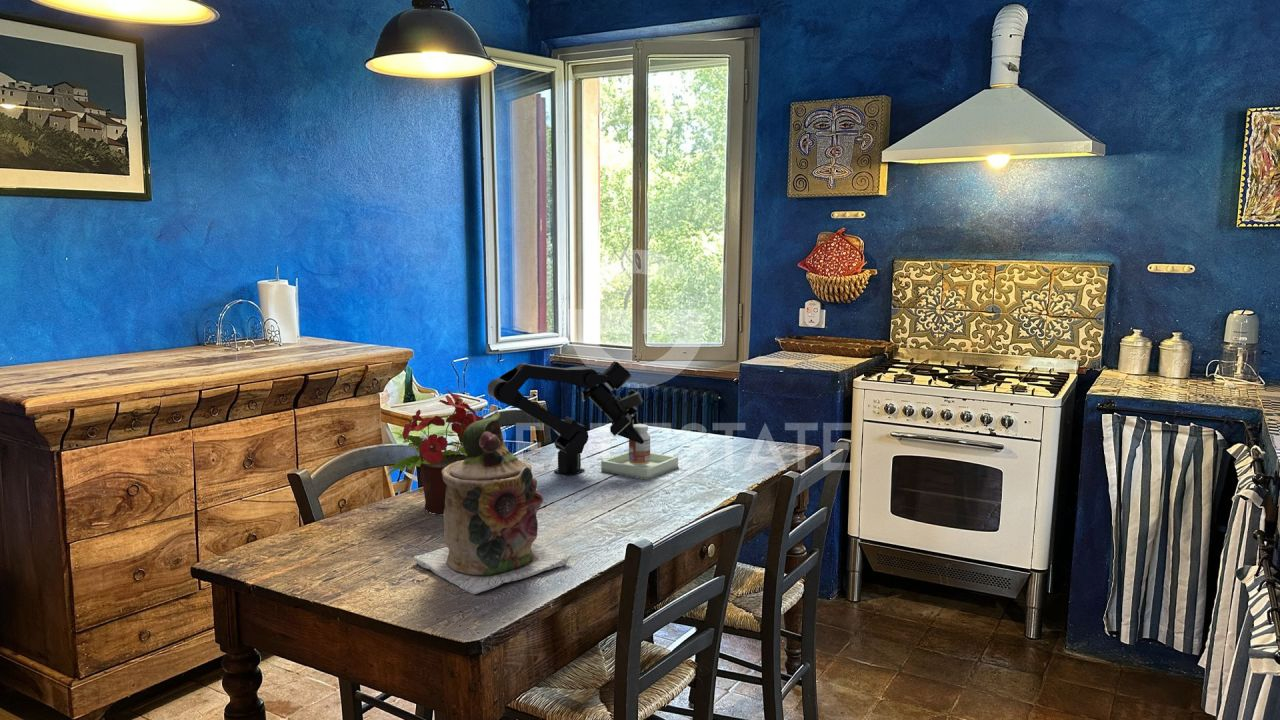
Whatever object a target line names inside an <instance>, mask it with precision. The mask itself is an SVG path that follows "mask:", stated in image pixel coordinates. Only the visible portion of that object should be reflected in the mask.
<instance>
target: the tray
mask: <svg viewBox="0 0 1280 720" xmlns="http://www.w3.org/2000/svg"><path fill="white" fill-rule="evenodd" d="M600 462H601V463H600V464H601V465H600V468H601V472H603V471H605V472H604V473H609V472H610V473H609V474H614V473H616V474H615V475H619V474H620V475H619V476H624V475H626V476H625V477H629V476H632V477H631V478H635V477H638V478H637V479H640V478H642V479H641V480H645V479H646V481H648V480H650V478H651V479H654V478H655V477H656V478H657V476H660V474H661V475H663V474H665V473H668V472H670V471H673V470H674V469H677V467H678V468H679V457H678V456H673V455H666V454H661V453H656V452H650V463H649V464H647V465H633V464H630V463H629V450H628V451H626V452H623V453H620V454H617V455H614V456H611V457H609V458H606V459H603V460H601V461H600Z"/></svg>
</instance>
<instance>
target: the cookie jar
mask: <svg viewBox="0 0 1280 720" xmlns="http://www.w3.org/2000/svg"><path fill="white" fill-rule="evenodd" d="M500 419H501V413H500V412H499V411H498V410H496V411H494V413H493V415H492V416H491V417H487V418H484V419H483V420H479V421H476V422H474V423H472V424H470V425H469V426H468V427H467V428H466V430H465V431H464V434H463V435H462V442H463V445H462V447H464V449H465V452H466V454H467V457H466V459H465V460H462V461H457V462H455V463H452V464H450V465H448V466H447V467H445V468H444V469H443V470H442V477H443V481H444V482H445V483H446V485H447V486H446V498H445V509H444V515H443V529H444V532H443V539H444V543H445V545H446V547H442V548H438V549H436V550H432V551H429V552H425V553H422V554H419V555H414V556H413V558H414V561H415V563H416V564H417V565H418V566H420V567H422V568H423V569H425V570H430V572H433V573H434V574H435V575H436V576H438V577H440V578H442V579H444V580H446V581H448V582H449V583H451V584H453V585H455V586H458V588H459V589H462V590H464V592H465V591H466V592H468V593H470V594H472V595H478V594H479V593H483V592H486V591H489V590H492V589H494V588H496V587H499V586H501V585H502V584H505V583H510V582H515V581H519V580H522V579H526V578H529V577H532V576H534V575H538V574H541V573H544V572H546V571H549V570H552V569H555V568H558V567H559V568H560V567H564V566H565V565H567V564H568V562H569V560H570V558H571V557H572V554H571V553H568V552H565V551H562V550H557V549H556V550H555V549H552V548H549V547H548V548H547V547H546V546H544V545H543V544H540V543H537V542H536V541H535V540H536V539H537V538H538V529H539V528H538V525H539V524H538V519H537V513H538V512H539V510H540V508H541V505H542V504H543V502H544V497H543V495H542V494H541V492H539V491H537V487H538V486H537V485H538V480H537V478H534V475H533V471H532V465H531V464H530V463H528V462H526V461H524V460H521V459H519V458H518V457H517V456H516V455H515V454H514V453H512V452H510V450H509V448H508V447H507V446H506V444H505V442H504V441H505V440H504V437H503V431H502V429H501V424H500V423H501V422H500Z"/></svg>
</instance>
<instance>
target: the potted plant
mask: <svg viewBox="0 0 1280 720" xmlns="http://www.w3.org/2000/svg"><path fill="white" fill-rule="evenodd" d="M444 390H445V391H446V392H447V393H448V394H449V395H450V396H451V397H450V396H449V395H448V394H447V395H445V400H443V399H440V400H438V402H439V403H442V404H444V405H446V406H452V407H453V408H454V411H453V413H452V414H451V415H449V416H447V417H446V419H443V418H442V417H440V416H439V415H435V416H433V418H430V417H428V416H427V417H425V418H423V417H421V411H422V410H421V409H418V410H416V412H415V414H413V415H412V416H411V419H412V420H410V422H409V423H405V424H404V426H403V430H402V431H400V432H401V433H400V432H395V431H390V433H391V434H394V435H395V434H396V435H398V436H397V437H396V438H397V439H403V442H402V444H404V443H406V444H407V443H408V447H413V446H416V448H415V453H419V455H411V456H408V457H404V458H402V459H401V460H399V461H397V462H396V463H394V464H393V465H391V466H390V467H389V468H390V469H391V470H390V471H389V472H388V473H387V475H386V477H388V476H389V475H391V474H392V473H394V472H396V471H397V470H400V471H401V472H402V473H403V472H404V471H405V469H408V470H411V471H412V470H413V468H414V467H419V468H420V473H421V481H422V486H423V494H424V495H423V496H424V500H425V501H424V502H425V504H424V510H425V511H426V510H427V511H428V512H427V511H426V512H427V513H429V512H431V513H430V514H432V513H435V514H434V515H438V514H444V509H445V498H446V486H447V485H446V483H445V482H444V481H443V477H442V470H443V469H444V468H445V467H447V466H448V465H450V464H452V463H455V462H457V461H462V460H465V459H466V457H467V454H466V452H465V449H464V447H463V441H462V442H460V440H461V436H463V434H464V431H465V430H466V428H467V427H468V426H469V425H470V424H472V423H474V422H476V421H479V420H483V419H485V418H484V416H478V415H477V412H476V411H475V410H474V409H473V408H472V407H471V406H470V405H469V404H468V403H466V401H464V399H463V398H461V397H460V395H458V394H455V393H452V392H451V391H450V390H448V389H446V388H444ZM467 411H470V412H471V413H469V412H467ZM418 421H419V422H418ZM446 423H448V424H447V426H446V429H445V436H444V435H439V436H438V434H436V433H432V434H430V429H429V428H430V425H434V426H435V427H436V426H437V427H444V426H445V425H446ZM450 424H451V431H452V432H454V433H455V434H457V435H459V438H458V441H451V442H448V439H447V437H448V435H447V434H448V427H449V426H450ZM426 428H427V433H425V432H424V431H423V430H424V429H426ZM411 432H422V433H423V434H424V435H425V436H427V438H424V439H423V440H422V438H421V437H418V436H414V435H412V434H411V435H410V433H411ZM459 445H460V446H459ZM448 446H452V447H454V446H455V447H456V450H453V449H452V450H451V449H449V450H448V449H447V447H448ZM392 468H393V469H392Z"/></svg>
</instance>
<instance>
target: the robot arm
mask: <svg viewBox="0 0 1280 720" xmlns="http://www.w3.org/2000/svg"><path fill="white" fill-rule="evenodd" d="M631 378H632V375H631V373H630V372H629V371H628V369H626V368H625V367H624V366H622V365H621V364H620V363H619V362H618V361H616V360H613V361H612V363H611V364H610V365H609V366H608V367H607V368H606V369H605V371H603V372H599V371H597V370H595V369H592V368H590V367H587V366H580V365H578V366H570V367H557V366H555V367H554V366H547V365H538V364H528V363H525V362H520V363H518V364H517V365H516V366H515V367H514V368H511V369H510V370H508V371H506V372H505V373H503V374H501V375H500V376H499V377H497V378H493V379H492V380H490V381H489V382H488V385H487V388H486V390H487V394H488V395H489V397H491V398H492V399H495V401H497V402H500V403H502V404H505V405H507V406H511V407H514V408H517V409H518V410H520V411H522V413H523V412H524V413H525V414H527V415H528V416H530V417H532V418H533V419H535V420H536V421H538V422H540V423H541V424H543V425H545V426H547V427H548V428H550V429H551V430H552V431H554V432H555V433H556V434H557V435H558V437H557V438H556V439H555V441H554V442H553V444H554V446H555V448H556V449H557V450H558V451H557V469H555V470H553V473H556V474H561V475H566V476H573V475H576V474H580V473H583V472H585V469H584V468H582V463H581V462H582V460H581V457H582V455H581V454H583V451H584V448H585V446H586V444H587V442H588V441H589V432H588V431H587V430H586V429H585V428H586V425H584V424H582V423H579V422H577V421H576V420H575V419H574V418H571V417H569V416H567V415H566V416H565V417H564V419H562V418H560V417H559V416H556V415H555V414H554V413H551V412H550V411H548V410H546V409H545V408H543V407H542V406H540V405H539V404H537V403H535V402H533V401H532V400H530V399H528V398H527V397H526V396H524V395H523V393H521V392H520V391H519V390H520V389H521V388H522V387H523V386H524V384H525V383H526V382H527V381H528V380H529V379H531V380H532V379H533V380H542V381H550V382H552V381H553V382H558V383H559V382H560V383H568V384H570V385H574V386H577V387H580V388H583V389H587V390H582V391H581V395H582V397H581V401H582V402H585V401H586V400H587V399H588V398H589V399H590V400H591V401H592V402H593V404H594V405H595V406H596V407H598V409H599V410H600V413H601V414H602V415H605V416H607V417H608V418H609V420H610V423H611V425H610V427H609V430H610V431H609V432H610V433H611V434H612V435H613V436H614V437H616V435H617V436H619V437H621V438H622V437H623V438H625V439H628V440H629V439H630V440H633V441H635V442H637V443H640V444H643V443H644V440H643V439H642V437H641V436H640V434H639V433H638V432H637V430H636V429H635V427H634V424H640V422H639V420H638V413H639V412H638V408H637V406H640V405H642V404H643V402H644V400H643V397H642V394H641V392H640V391H636V390H635V389H631V390H629V391H628V393H627V395H626V396H625V397H623V398H621V397H620V396H619V395H617V396H616V395H615V394H614V393H613V392H612V391H619V390H620V389H621V388H622V387H623V386H624V385H625V384H626V383H627V382H628V381H629V380H630V379H631Z"/></svg>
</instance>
